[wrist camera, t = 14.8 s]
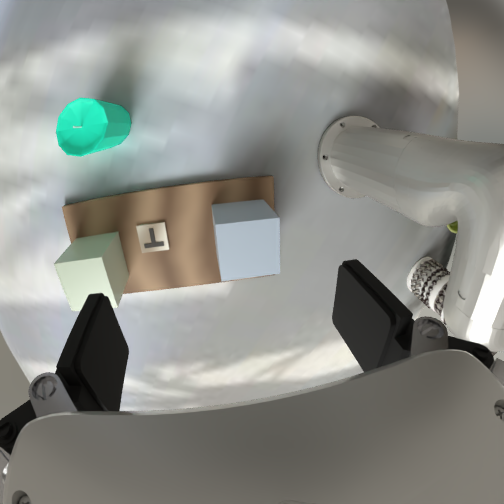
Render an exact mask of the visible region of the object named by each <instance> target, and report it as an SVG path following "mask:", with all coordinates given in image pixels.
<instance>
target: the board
mask: <svg viewBox="0 0 504 504" xmlns="http://www.w3.org/2000/svg"><path fill="white" fill-rule="evenodd" d="M261 199H263V200H264V201H265V202H266V203H267V204H268V205H269V206H270V207H271V209H272V210H273V211H274V177H273V176H259V177H247V178H235V179H225V180H215V181H206V182H198V183H189V184H181V185H174V186H167V187H160V188H153V189H147V190H140V191H134V192H128V193H123V194H117V195H112V196H106V197H101V198H96V199H91V200H86V201H81V202H77V203H72V204H68V205H64V206H63V207H62V209H63V214H64V218H65V222H66V226H67V230H68V233H69V237H70V241H71V244H72V243H73V241H74V240H75V239H76V238H82V237H88V236H94V235H100V234H106V233H113V232H118V233H119V237H120V242H121V246H122V250H123V254H124V258H125V262H126V266H127V269H128V273H129V278H128V280H127V283H126V286H125V289H124V291H123V294H126V293H135V292H144V291H153V290H162V289H171V288H179V287H187V286H195V285H203V284H211V283H219V282H227V281H221V276H220V270H219V264H218V259H217V253H216V244H215V235H214V225H213V216H212V205H213V204H221V203H231V202H240V201H251V200H261ZM273 275H275V274H273ZM266 276H270V275H266ZM259 277H263V276H259ZM252 278H256V277H252ZM245 279H249V278H245ZM237 280H242V279H237ZM230 281H234V280H230Z"/></svg>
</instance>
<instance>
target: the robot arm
mask: <svg viewBox="0 0 504 504" xmlns="http://www.w3.org/2000/svg"><path fill="white" fill-rule="evenodd" d="M340 123H341V126H340ZM323 155H324V158H323ZM318 165H319V169H320V172H321V175H322V177H323V179H324V181H325V182H326V183H327V185H328V186H329V187H330V188H331V189H332V190H334V191H335V192H336V193H338V194H340V195H342V196H345V197H348V198H361V197H365V196H368V197H370V198H372V199H374V200H375V201H377V202H379V203H381V204H383V205H385V206H387V207H389V208H391V209H393V210H395V211H396V212H398V213H400V214H402V215H404V216H406V217H408V218H409V219H411V220H413V221H415V222H417V223H419V224H421V225H424V226H428V227H441V226H445V225H448V224H451V223H453V222H455V221H457V220H458V231H457V239H456V249H455V254H454V259H453V264H452V268H451V272H450V276H449V280H448V284H447V288H446V293H445V298H444V304H443V314H444V319H445V322H446V325H447V327H448V329H449V330H450V332H451V333H452V334H453V335H454V336H455V337H456V338H455V337H451V336H448V332H447V328H446V327H445V325H444V324H443V323H442V322H441V321H439V320H437V319H436V318H432V317H420V318H418V319H416V320H415V321H414V320H413V319H412V316H413V314H412V313H411V312H410V311H409V310H408V309H407V307H406V306H405V305H404V304H403V303H402V302H401V301H400V300H399V299H398V298H397V297H396V296H395V295H394V294H393V293H392V292H391V291H390V290H389V289H388V288H387V287H385V286H384V285H383V284H382V283H381V282H380V281H379V280H378V279H377V278H376V277H375V276H374V275H373V274H372V273H371V272H370V271H369V270H368V269H367V268H366V267H365V266H364V265H363V264H361V263H360V262H359V261H358V260H357V259H355V260H348V261H344V262H343V263H342V265H340V266H339V269H338V278H337V286H336V294H335V301H334V308H333V315H332V320H333V324H334V325H335V327H336V329H337V330H338V332H339V333H340V335H341V336H342V338H343V339H344V341H345V343H346V344H347V346H348V347H349V349H350V350H351V352H352V354H353V355H354V357H355V358H356V360H357V361H358V363H359V365H360V366H361V368H362V369H363V371H364V373H361V374H358V375H355V376H351V377H348V378H345V379H341V380H338V381H334V382H331V383H327V384H324V385H320V386H316V387H312V388H308V389H304V390H300V391H295V392H291V393H286V394H282V395H277V396H272V397H267V398H261V399H256V400H250V401H244V402H238V403H231V404H224V405H216V406H207V407H198V408H187V409H174V410H157V411H119V409H120V402H121V395H122V389H123V383H124V377H125V371H126V366H127V360H128V355H129V349H128V345H127V343H126V341H125V338H124V336H123V333H122V331H121V329H120V326H119V324H118V321H117V318H116V316H115V313H114V311H113V308H112V305H111V302H110V300H109V298H108V296H105V295H104V294H103V293H95V294H89V295H88V297H87V299H86V301H85V303H84V305H83V307H82V309H81V311H80V313H79V315H78V317H77V319H76V322H75V324H74V326H73V328H72V330H71V333H70V335H69V337H68V339H67V342H66V344H65V346H64V349H63V351H62V353H61V356H60V358H59V361H58V363H57V366H56V367H57V370H56V372H55V374H54V373H50V372H48V373H43V374H41V375H39V376H37V377H36V378H35V379H34V380H33V381H32V382H31V384H30V387H29V397H30V400H28V401H27V402H26V403H24V404H23V405H21V406H20V407H18V408H17V409H15V410H14V411H12V412H11V413H9V414H8V415H7V416H5V417H4V418H2V419H1V420H0V504H504V361H502V360H500V359H498V358H496V360H494V358H493V354H492V353H491V351H492V352H504V144H497V143H482V142H472V141H463V140H457V139H450V138H444V137H439V136H433V135H427V134H421V133H415V132H408V131H401V130H393V129H384V128H380V127H379V126H378V125H377V124H376V123H375V122H373V121H372V120H370V119H368V118H366V117H361V116H346V117H343V118H340V119H338V120H337V121H335V122H333V123H332V124H331V125H330V126H329V127H328V128H327V130H326V131H325V133H324V134H323V136H322V138H321V141H320V144H319V148H318ZM339 188H340V189H339Z"/></svg>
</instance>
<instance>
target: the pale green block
mask: <svg viewBox="0 0 504 504" xmlns="http://www.w3.org/2000/svg"><path fill="white" fill-rule="evenodd" d="M54 266H55V269H56V271H57V274H58V277H59V280H60V282H61V285H62V287H63V290H64V293H65V295H66V297H67V300H68V302H69V305H70V307H71V309H72V311H81V309H82V307H83V305H84V303H85V301H86V299H87V297H88V295H89V294H95V293H103V294H104V295H105V296H108V298H109V300H110V302H111V305H112V308H118V306H119V303H120V300H121V297H122V294H123V291H124V289H125V286H126V283H127V280H128V278H129V273H128V269H127V266H126V262H125V258H124V254H123V250H122V246H121V242H120V237H119V233H118V232H113V233H106V234H100V235H94V236H88V237H82V238H76V239H75V240H74V241H73V243H72V244H71V245H70V246H69V247H68V248H67V249H66V250H65V252H64V253H63V254H62V255H61V256H60V257H59V259H58V260H57V261H56V262H55V263H54Z"/></svg>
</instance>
